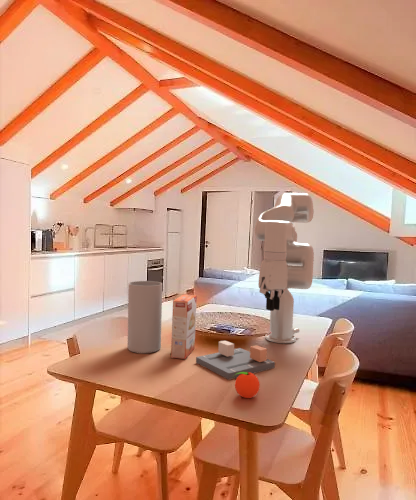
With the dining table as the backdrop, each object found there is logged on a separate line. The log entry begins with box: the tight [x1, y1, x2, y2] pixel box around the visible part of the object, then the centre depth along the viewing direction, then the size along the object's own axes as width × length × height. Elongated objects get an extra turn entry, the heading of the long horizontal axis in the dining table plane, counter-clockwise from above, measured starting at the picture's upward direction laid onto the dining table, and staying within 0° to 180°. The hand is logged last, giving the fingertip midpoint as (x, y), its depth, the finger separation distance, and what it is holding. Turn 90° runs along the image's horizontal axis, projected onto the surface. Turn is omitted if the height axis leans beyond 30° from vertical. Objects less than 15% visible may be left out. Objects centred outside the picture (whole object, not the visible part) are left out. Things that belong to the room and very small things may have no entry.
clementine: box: [233, 372, 261, 399], centre depth 115 cm, size 8×7×7 cm
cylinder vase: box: [126, 280, 163, 354], centre depth 155 cm, size 12×12×25 cm
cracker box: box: [170, 293, 198, 360], centre depth 151 cm, size 14×6×21 cm, turn 168°
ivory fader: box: [217, 340, 235, 357], centre depth 144 cm, size 3×5×4 cm, turn 36°
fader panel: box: [195, 347, 276, 381], centre depth 141 cm, size 20×18×2 cm
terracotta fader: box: [249, 345, 268, 362], centre depth 140 cm, size 3×5×4 cm, turn 36°
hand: (272, 309), depth 142 cm, fingers closed
